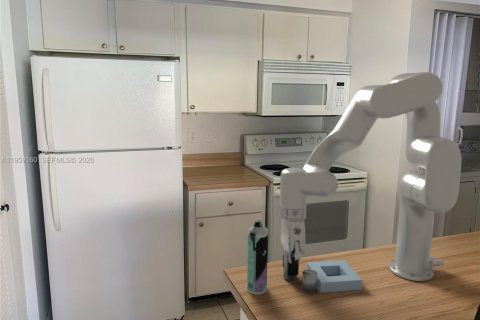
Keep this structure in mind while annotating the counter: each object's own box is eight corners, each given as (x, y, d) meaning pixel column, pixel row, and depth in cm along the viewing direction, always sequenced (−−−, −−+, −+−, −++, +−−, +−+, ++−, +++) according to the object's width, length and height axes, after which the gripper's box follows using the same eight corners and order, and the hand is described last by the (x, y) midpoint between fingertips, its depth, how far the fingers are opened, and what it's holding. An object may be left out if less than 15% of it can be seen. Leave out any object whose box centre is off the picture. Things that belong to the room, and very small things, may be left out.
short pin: (313, 285, 104) (314, 269, 104) (318, 292, 101) (319, 275, 100) (300, 286, 104) (300, 269, 103) (304, 293, 100) (305, 276, 99)
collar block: (343, 269, 114) (344, 260, 113) (361, 289, 102) (362, 279, 102) (306, 271, 112) (306, 262, 112) (320, 292, 101) (321, 282, 100)
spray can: (265, 295, 99) (267, 225, 95) (245, 293, 100) (246, 223, 96) (267, 285, 104) (269, 218, 100) (248, 283, 105) (249, 216, 101)
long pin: (294, 273, 111) (296, 242, 109) (298, 280, 107) (300, 248, 105) (281, 274, 110) (282, 243, 108) (285, 281, 106) (286, 249, 104)
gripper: (315, 221, 97) (312, 285, 101) (296, 202, 113) (294, 257, 117) (288, 222, 96) (285, 287, 99) (272, 203, 112) (271, 259, 116)
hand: (290, 270), depth 108 cm, fingers closed on long pin, 4 cm apart
